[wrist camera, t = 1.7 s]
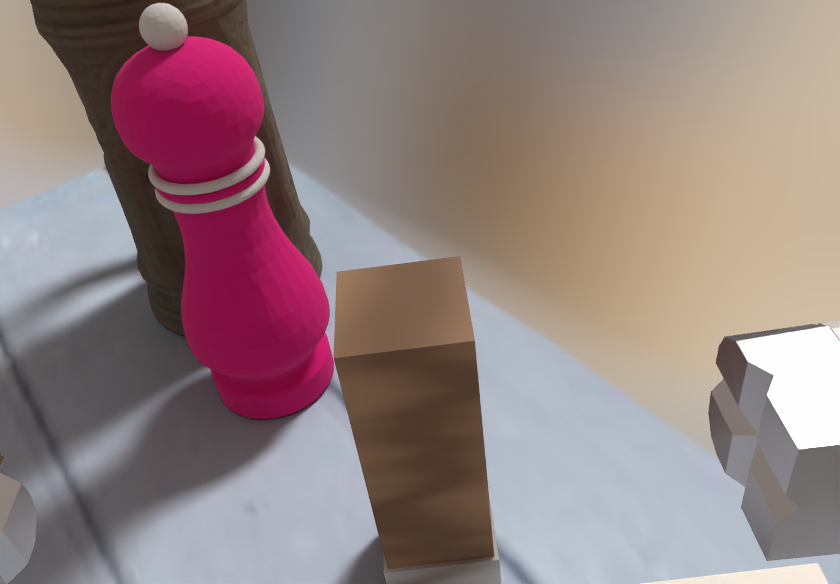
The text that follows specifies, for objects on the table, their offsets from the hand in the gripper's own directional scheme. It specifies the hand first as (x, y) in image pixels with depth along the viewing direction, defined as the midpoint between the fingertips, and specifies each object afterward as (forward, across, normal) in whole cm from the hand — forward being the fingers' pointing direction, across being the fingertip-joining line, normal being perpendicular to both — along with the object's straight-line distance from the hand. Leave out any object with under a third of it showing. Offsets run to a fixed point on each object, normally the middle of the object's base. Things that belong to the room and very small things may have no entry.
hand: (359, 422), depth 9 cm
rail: (+12, 0, +22) cm, 25 cm away
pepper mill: (+24, +8, +22) cm, 34 cm away
